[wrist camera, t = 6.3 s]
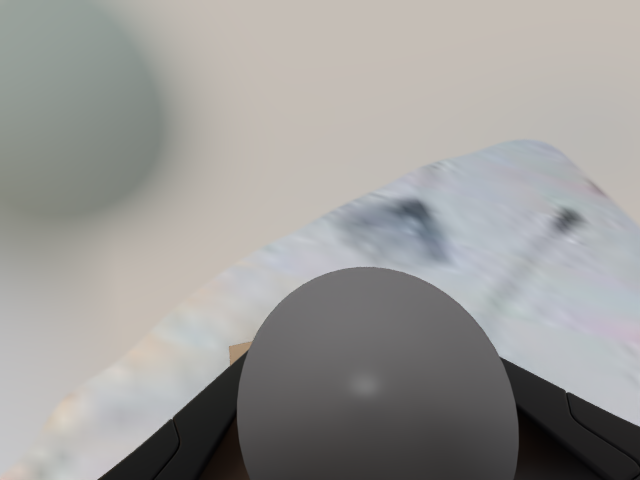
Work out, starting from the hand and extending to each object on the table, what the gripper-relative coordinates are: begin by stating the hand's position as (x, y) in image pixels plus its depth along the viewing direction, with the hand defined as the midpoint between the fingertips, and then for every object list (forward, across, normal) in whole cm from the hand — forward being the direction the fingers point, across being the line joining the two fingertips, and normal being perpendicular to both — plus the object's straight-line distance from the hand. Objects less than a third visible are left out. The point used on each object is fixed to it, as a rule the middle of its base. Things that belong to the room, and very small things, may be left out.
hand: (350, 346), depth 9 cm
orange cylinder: (+4, 0, +6) cm, 7 cm away
